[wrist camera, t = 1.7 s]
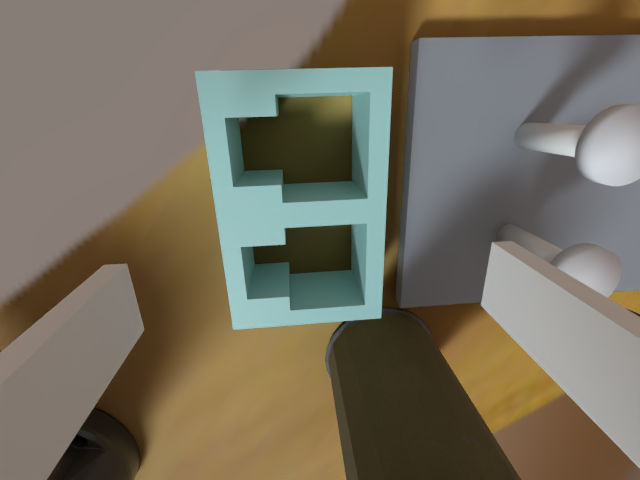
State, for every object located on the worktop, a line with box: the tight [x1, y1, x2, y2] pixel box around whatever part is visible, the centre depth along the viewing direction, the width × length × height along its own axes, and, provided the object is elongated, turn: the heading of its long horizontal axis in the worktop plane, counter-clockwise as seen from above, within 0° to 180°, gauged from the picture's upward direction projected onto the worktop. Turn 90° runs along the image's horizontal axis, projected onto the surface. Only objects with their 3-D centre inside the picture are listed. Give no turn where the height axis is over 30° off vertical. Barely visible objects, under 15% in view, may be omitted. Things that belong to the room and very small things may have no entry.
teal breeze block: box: [195, 67, 393, 330], centre depth 23 cm, size 10×16×6 cm, turn 2°
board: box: [395, 35, 640, 308], centre depth 23 cm, size 22×20×9 cm
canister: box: [325, 308, 521, 480], centre depth 23 cm, size 11×10×20 cm
